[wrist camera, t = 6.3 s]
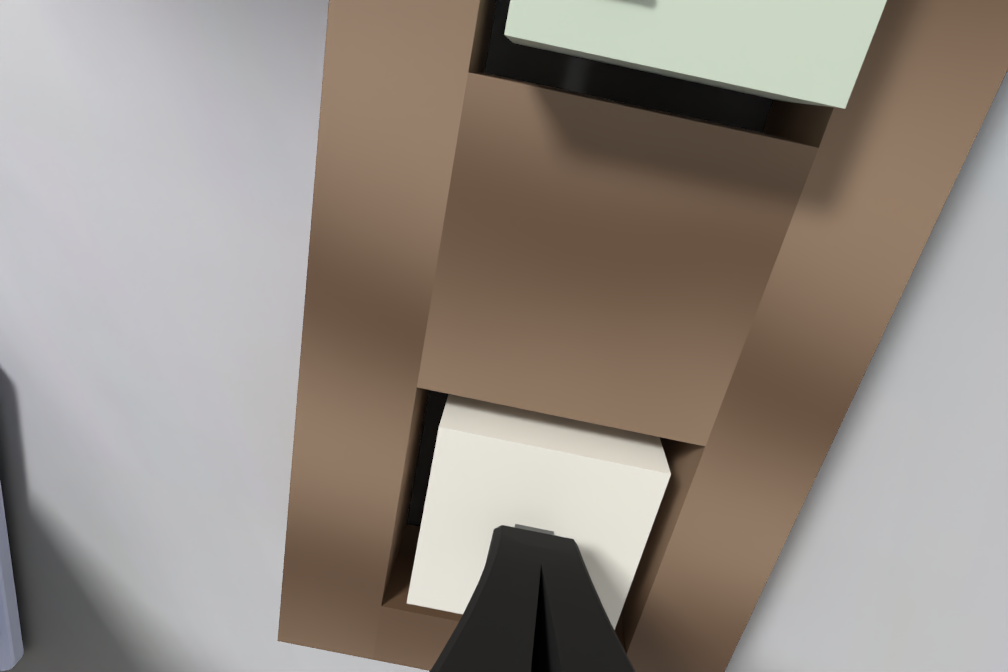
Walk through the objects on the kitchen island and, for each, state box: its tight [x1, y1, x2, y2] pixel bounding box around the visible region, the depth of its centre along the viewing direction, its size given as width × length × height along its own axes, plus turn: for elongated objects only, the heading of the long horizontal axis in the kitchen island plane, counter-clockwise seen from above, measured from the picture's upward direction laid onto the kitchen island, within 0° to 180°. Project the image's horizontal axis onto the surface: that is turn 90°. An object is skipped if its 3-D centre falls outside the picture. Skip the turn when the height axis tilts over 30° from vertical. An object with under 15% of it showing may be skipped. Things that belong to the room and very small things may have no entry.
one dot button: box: [407, 394, 671, 630], centre depth 12 cm, size 4×4×2 cm
